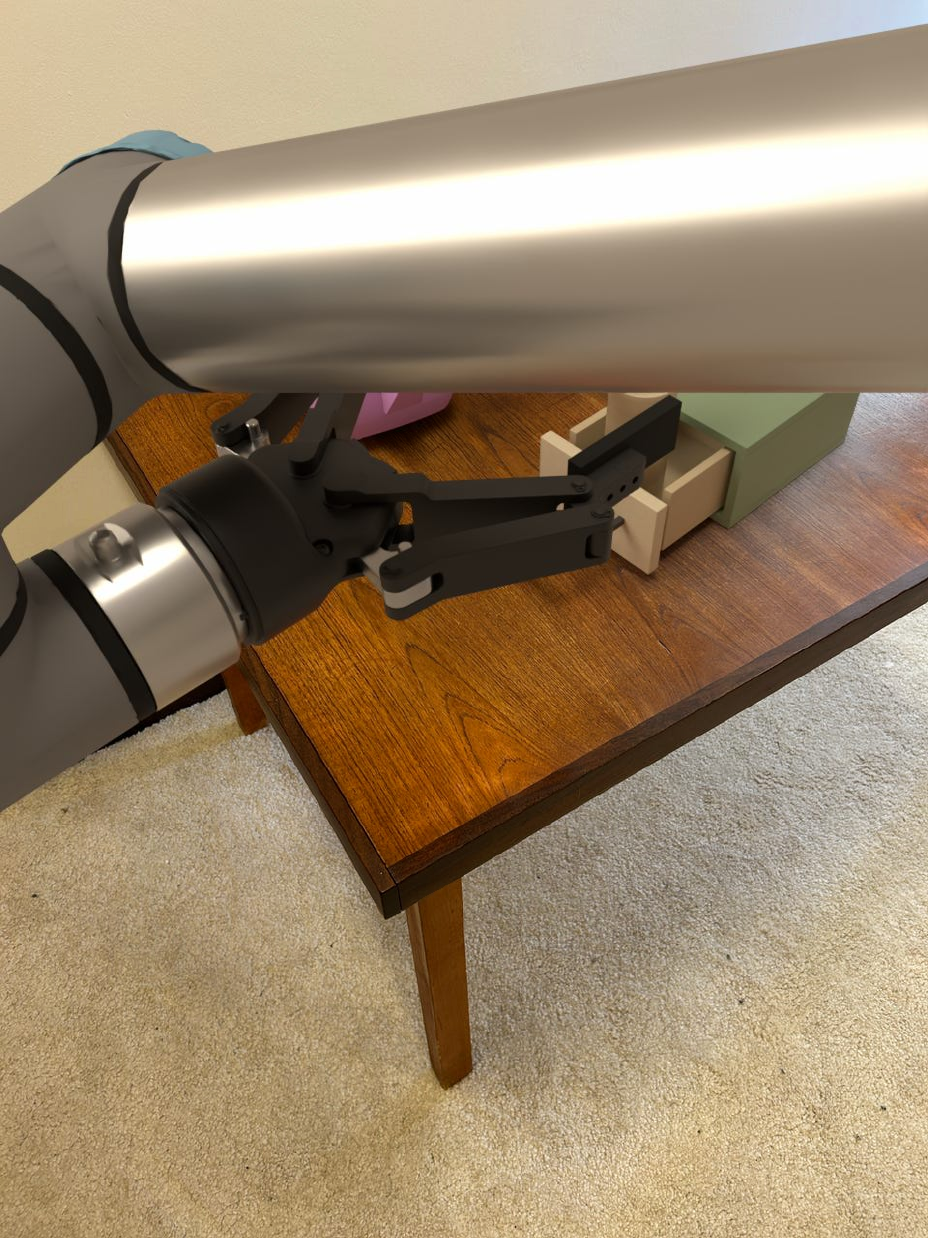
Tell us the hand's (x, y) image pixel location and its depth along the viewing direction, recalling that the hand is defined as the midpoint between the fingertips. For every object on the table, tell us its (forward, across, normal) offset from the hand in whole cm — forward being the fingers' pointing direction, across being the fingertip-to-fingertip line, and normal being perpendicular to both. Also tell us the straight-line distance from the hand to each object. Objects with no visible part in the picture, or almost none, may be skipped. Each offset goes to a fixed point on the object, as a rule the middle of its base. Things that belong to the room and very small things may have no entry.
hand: (567, 360), depth 48 cm
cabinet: (+33, +10, +30) cm, 45 cm away
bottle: (+19, +10, +28) cm, 35 cm away
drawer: (+19, +10, +29) cm, 36 cm away
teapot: (+14, +39, +30) cm, 51 cm away
